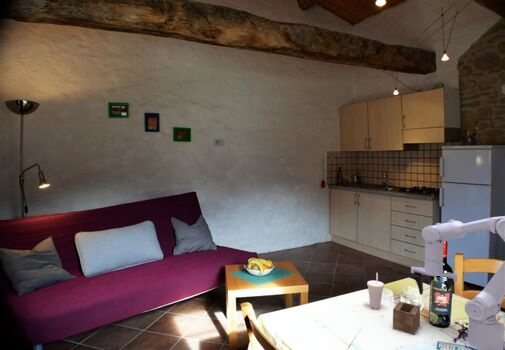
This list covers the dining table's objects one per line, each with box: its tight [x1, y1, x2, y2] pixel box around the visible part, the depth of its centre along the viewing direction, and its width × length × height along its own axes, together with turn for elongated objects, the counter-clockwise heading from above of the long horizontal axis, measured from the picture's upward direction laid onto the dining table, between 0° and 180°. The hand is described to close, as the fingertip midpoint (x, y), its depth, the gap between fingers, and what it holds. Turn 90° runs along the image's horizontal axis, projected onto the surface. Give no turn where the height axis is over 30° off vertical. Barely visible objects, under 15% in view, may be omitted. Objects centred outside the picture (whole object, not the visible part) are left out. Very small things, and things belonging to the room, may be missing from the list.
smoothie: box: [366, 272, 385, 310], centre depth 135 cm, size 6×6×14 cm
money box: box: [392, 301, 421, 335], centre depth 119 cm, size 7×8×7 cm
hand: (433, 296), depth 120 cm, fingers open, 7 cm apart
